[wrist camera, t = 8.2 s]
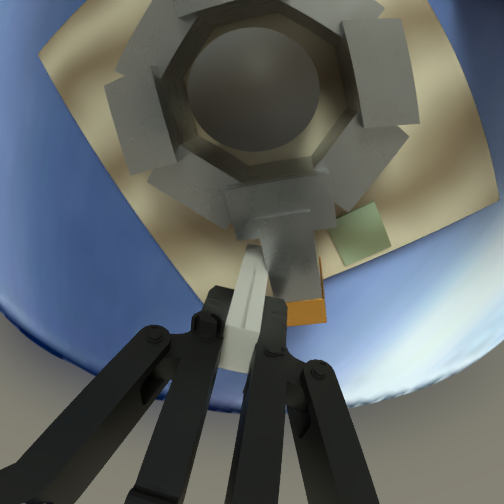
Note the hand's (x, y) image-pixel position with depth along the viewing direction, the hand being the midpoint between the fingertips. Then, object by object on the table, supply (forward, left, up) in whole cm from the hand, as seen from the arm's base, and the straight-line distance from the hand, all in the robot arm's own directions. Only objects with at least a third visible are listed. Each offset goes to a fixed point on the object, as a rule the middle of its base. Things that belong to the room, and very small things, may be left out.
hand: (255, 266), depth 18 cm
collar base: (-8, +5, -4) cm, 10 cm away
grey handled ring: (-6, +4, -2) cm, 7 cm away
